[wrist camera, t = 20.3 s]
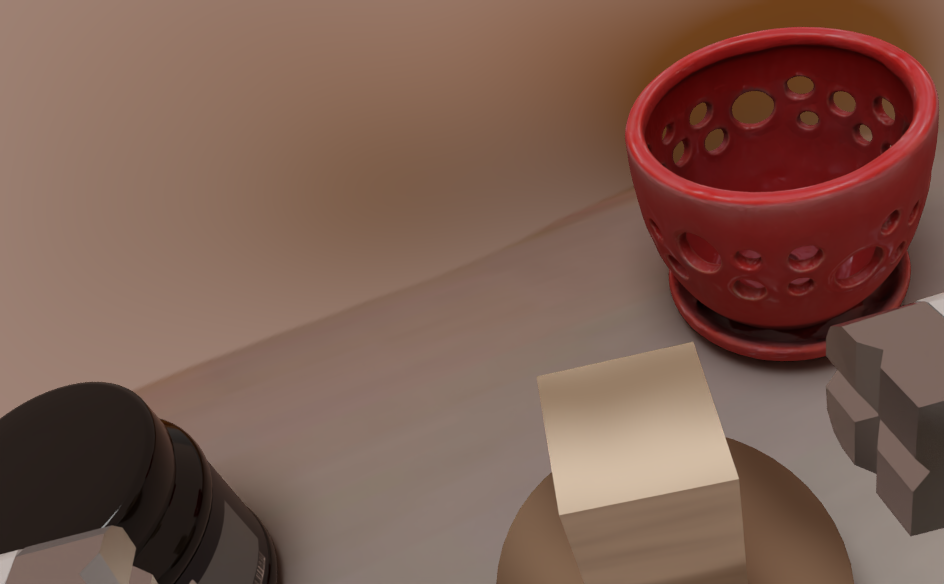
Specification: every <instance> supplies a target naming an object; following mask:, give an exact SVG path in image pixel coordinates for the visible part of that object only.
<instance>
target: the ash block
mask: <svg viewBox="0 0 944 584" xmlns="http://www.w3.org/2000/svg"><path fill="white" fill-rule="evenodd" d="M537 382H538V388H539V395H540V401H541V407H542V413H543V419H544V425H545V432H546V438H547V444H548V450H549V456H550V462H551V469H552V475H553V481H554V487H555V493H556V499H557V506H558V512H559V516H560V519H561V522H562V525H563V527H564V530H565V533H566V535H567V538H568V541H569V543H570V546H571V549H572V552H573V554H574V557H575V560H576V562H577V565H578V568H579V570H580V573H581V576H582V579H583V581H584V584H748V580H747V568H746V556H745V544H744V533H743V521H742V509H741V497H740V485H739V477H738V474H737V471H736V468H735V465H734V462H733V459H732V456H731V453H730V450H729V447H728V444H727V441H726V438H725V435H724V432H723V429H722V426H721V423H720V420H719V417H718V414H717V411H716V408H715V405H714V402H713V399H712V396H711V393H710V390H709V387H708V384H707V381H706V378H705V375H704V372H703V369H702V366H701V363H700V360H699V357H698V354H697V351H696V348H695V345H694V342H690V343H685V344H681V345H677V346H672V347H668V348H663V349H659V350H654V351H650V352H645V353H641V354H636V355H632V356H627V357H623V358H618V359H614V360H609V361H605V362H600V363H596V364H591V365H587V366H582V367H578V368H573V369H569V370H564V371H560V372H555V373H551V374H546V375H542V376H537Z"/></svg>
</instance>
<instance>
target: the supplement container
mask: <svg viewBox="0 0 944 584" xmlns="http://www.w3.org/2000/svg"><path fill="white" fill-rule="evenodd" d="M111 525H112V526H117V527H122V528H123V529H124V531H125V532H126V534H127V535H128V537H129V538H130V540H131V541H132V542H133V544H134V545H135V547H136V550H135V555H134V560H133V565H132V566H135V567H137V568H139V569H141V570H143V571H146V572H148V573H150V574H152V575H153V576H154V578H155V580H156V581H157V583H158V584H277V574H278V570H277V559H276V553H275V549H274V546H273V542H272V540H271V537H270V535H269V533H268V531H267V529H266V528H265V526H264V525H263V523H262V522H261V521H260V519H259V518H258V517H257V516H256V515H255V514H254V512H252V511H251V510H250V509H249V508H248V507H247V506H245V504H244V503H243V502H242V501H241V500H240V499H239V497H238V496H237V495H236V494H235V493H234V491H233V490H232V489H231V488H230V487H229V486H228V484H227V483H226V482H225V481H224V480H223V479H222V477H221V476H220V475H219V474H218V473H217V471H216V470H215V469H214V468H213V467H212V466H211V464H210V463H209V462H208V461H207V459H206V457H205V455H204V453H203V451H202V450H201V448H200V447H199V445H198V444H197V443H196V442H195V441H194V439H193V438H192V437H191V436H190V435H189V434H188V433H186V432H185V431H184V430H183V429H182V428H180V427H178V426H177V425H175V424H173V423H171V422H168V421H166V420H163V419H160V418H158V417H157V416H156V414H155V413H154V412H153V411H152V410H151V409H150V408H149V406H148V405H147V404H146V403H145V402H144V401H143V399H142V398H140V397H139V396H138V395H137V394H136V393H134V392H133V391H131V390H129V389H127V388H125V387H122V386H120V385H116V384H112V383H106V382H85V383H77V384H72V385H68V386H64V387H60V388H57V389H54V390H51V391H48V392H46V393H44V394H42V395H39V396H37V397H35V398H33V399H31V400H29V401H27V402H25V403H23V404H22V405H20V406H18V407H17V408H15V409H14V410H12V411H11V412H9V413H7V414H6V415H5V416H3V417H2V418H1V419H0V554H4V553H8V552H12V551H16V550H21V549H24V548H25V547H29V546H32V545H36V544H40V543H44V542H48V541H52V540H56V539H60V538H64V537H68V536H72V535H76V534H80V533H84V532H88V531H92V530H96V529H100V528H104V527H107V526H111Z"/></svg>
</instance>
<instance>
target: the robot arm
mask: <svg viewBox="0 0 944 584" xmlns="http://www.w3.org/2000/svg"><path fill="white" fill-rule="evenodd" d="M826 357H827V358H828V359H829V360H830V361H831V362H832V364H833V365H834V366H835V367H836V368H837V371H836V373H835V374H834V376H833V377H832V379H831V380H830V382H829V383H828V385H827V386H826V395H827V411H828V414H829V417H830V421H831V424H832V427H833V431H834V433H835V435H836V437H837V439H838V441H839V443H840V445H841V447H842V448H843V450H844V451H845V453H846V454H847V455H848V457H849V458H850V459H851V461H852V462H853V463H854V465H856V466H859V467H861V468H864V469H866V470H868V471H871V472H873V473H876V474H877V480H876V493H877V494H878V496H879V497H880V498H881V499H882V501H883V502H884V503H885V504H886V506H887V507H888V508H889V510H890V511H891V512H892V513H893V515H894V516H895V517H896V518H897V520H898V521H899V522H900V523H901V525H902V526H903V527H904V529H905V530H906V531H907V532H908V534H909V535H910V536H914V535H918V534H922V533H926V532H930V531H934V530H938V529H942V528H944V293H941V294H937V295H934V296H931V297H927V298H924V299H921V300H917V301H916V302H915V303H910V304H907V305H903V306H900V307H896V308H893V309H889V310H886V311H882V312H879V313H875V314H872V315H868V316H865V317H861V318H858V319H854V320H851V321H847V322H844V323H840V324H836V325H833V326H830V328H829V331H828V334H827V337H826ZM135 550H136V547H135V545H134V544H133V542H132V541H131V540H130V538H129V537H128V535H127V534H126V532H125V531H124V529H123V528H122V527H117V526H112V525H111V526H107V527H104V528H100V529H96V530H92V531H88V532H84V533H80V534H76V535H72V536H68V537H64V538H60V539H56V540H52V541H48V542H44V543H40V544H36V545H32V546H29V547H25V548H24V549H21V550H16V551H12V552H8V553H4V554H0V584H158V583H157V581H156V580H155V578H154V576H153V575H152V574H150V573H148V572H146V571H143V570H141V569H139V568H137V567H135V566H132V565H133V560H134V555H135Z"/></svg>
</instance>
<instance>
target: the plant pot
mask: <svg viewBox="0 0 944 584" xmlns="http://www.w3.org/2000/svg"><path fill="white" fill-rule="evenodd" d="M796 76H804V77H807V78H809V79H811V81H813V83H814V88H813V90H812V91H811V92H809V93H806V94H797V93H794V92H792V91H791V90H790V89H789V88H788V86H787V81H788V80H789V79H791V78H793V77H796ZM749 91H761V92H764V93H766V94H767V95H769V96H770V97H771V98H772V99H773V101H774V109H773V112H772V113H771V115H770V116H769V117H768V118H767V119H765V120H763V121H761V122H759V123H755V124H745V123H741V122H739V121H738V120H736V119H735V118H734V117H733V114H732V105H733V103H734V102H735V100H736V99H737V98H738V97H739V96H740V95H742V94H743V93H745V92H749ZM838 91H844V92H847V93H849V94H850V95H851V96H852V97H853V98H854V99H855V102H856V106H855V110H854V111H853V112H846V111H843V110H841V109H840V108H838V107H837V106H836V105H835V103H834V101H833V95H834V93H835V92H838ZM882 98H884V99H886V100H887V101H889V102H890V103H891V104H892V105H893V107H894V111H895V120H893V119H891V118H890V117H889V116H888V115H887V114H886V113H885V111H884V109H883V106H882ZM702 102H704V103H706V106H707V112H706V115H705V117H704V119H703V120H702V121H701V122H700V123H698V124H697V125H690V120H689V119H690V114H691V112H692V110H693V108H695V107H696V106H697V105H698V104H700V103H702ZM805 111H810V112H814V113H815V114H816V115H817V116H818V118H819V120H818V123H817V124H815V125H807V124H805V123H803V122H802V121H801V119H800V114H801V113H803V112H805ZM938 119H939V100H938V94H937V90H936V87H935V85H934V82H933V80H932V78H931V77H930V75H929V73H928V72H927V71H926V69H925V68H924V67H923V66H922V65H921V64H920V63H919V62H918V61H917V60H916V59H915V58H913V57H912V56H911V55H909V54H908V53H906V52H905V51H903V50H901V49H899V48H898V47H896V46H894V45H892V44H890V43H888V42H885V41H883V40H880V39H878V38H875V37H872V36H868V35H865V34H860V33H855V32H852V31H845V30H839V29H830V28H816V27H790V28H781V29H780V28H779V29H770V30H764V31H758V32H753V33H748V34H744V35H740V36H736V37H732V38H728V39H726V40H723V41H720V42H717V43H714V44H711V45H709V46H706V47H704V48H702V49H699V50H697V51H695V52H693V53H691V54H689V55H687V56H686V57H684V58H682V59H680V60H679V61H677V62H676V63H674V64H673V65H671V66H670V67H669V68H667V69H666V70H664V71H663V72H662V73H660V74H659V75H658V76H657V77H656V78H655V79H653V80H652V81H651V82H650V83H649V84H648V85H647V87H646V88H645V89H644V90H643V91H642V92H641V94H640V95H639V97H638V98H637V100H636V101H635V103H634V105H633V107H632V109H631V110H630V114H629V116H628V120H627V124H626V131H625V141H626V148H627V153H628V161H629V166H630V172H631V176H632V180H633V184H634V188H635V191H636V195H637V199H638V202H639V205H640V209H641V212H642V215H643V219H644V221H645V224H646V227H647V229H648V231H649V233H650V235H651V237H652V239H653V241H654V243H655V245H656V247H657V250H658V252H659V254H660V255H661V257H662V259H663V260H664V262H665V264H666V265H667V266H668V268H669V284H670V290H671V294H672V297H673V300H674V302H675V305H676V306H677V308H678V310H679V312H680V314H681V315H682V316H683V318H684V319H685V320H686V321H687V323H688V324H689V325H690V326H691V327H692V328H693V329H694V330H696V331H697V332H698V333H699V334H700V335H702V336H703V337H705V338H706V339H708V340H709V341H711V342H712V343H714V344H716V345H718V346H720V347H722V348H724V349H727V350H729V351H732V352H734V353H737V354H740V355H744V356H748V357H752V358H757V359H762V360H772V361H799V360H808V359H814V358H819V357H824V356H826V337H827V334H828V331H829V328H830V326H833V325H836V324H840V323H844V322H847V321H851V320H854V319H858V318H861V317H865V316H868V315H872V314H875V313H879V312H882V311H886V310H889V309H893V308H896V307H899V306H900V305H901V303H902V301H903V299H904V297H905V295H906V292H907V289H908V286H909V282H910V274H911V266H910V258H909V254H908V252H907V248H908V246H909V245H910V243H911V241H912V239H913V236H914V234H915V232H916V229H917V226H918V223H919V220H920V217H921V214H922V211H923V208H924V206H925V202H926V198H927V195H928V191H929V186H930V181H931V170H932V166H933V161H934V157H935V150H936V143H937V134H938ZM861 124H864V125H866V126H867V127H869V129H870V130H871V132H872V136H873V138H872V140H871V141H870V142H869V141H867V140H865V139H863V137H862V136H861V134H860V130H859V128H860V125H861ZM665 127H667V130H666V135H665V137H664V139H663V140H662V134H663V130H664V129H665ZM715 129H722V131H723V133H724V139H723V142H722V144H721V145H720V146H719V147H718V148H717V149H715V150H713V151H707V150H706V148H705V139H706V137H707V135H708V134H709V133H710V132H711V131H713V130H715ZM680 141H683V144H684V154H683V155H682V157H681V159H680V160H679V161H678V162H677V163H676V164H675V163H674V161H673V150H674V148H675V147H676V145H677V144H678V143H679V142H680ZM890 145H891V147H890Z"/></svg>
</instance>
